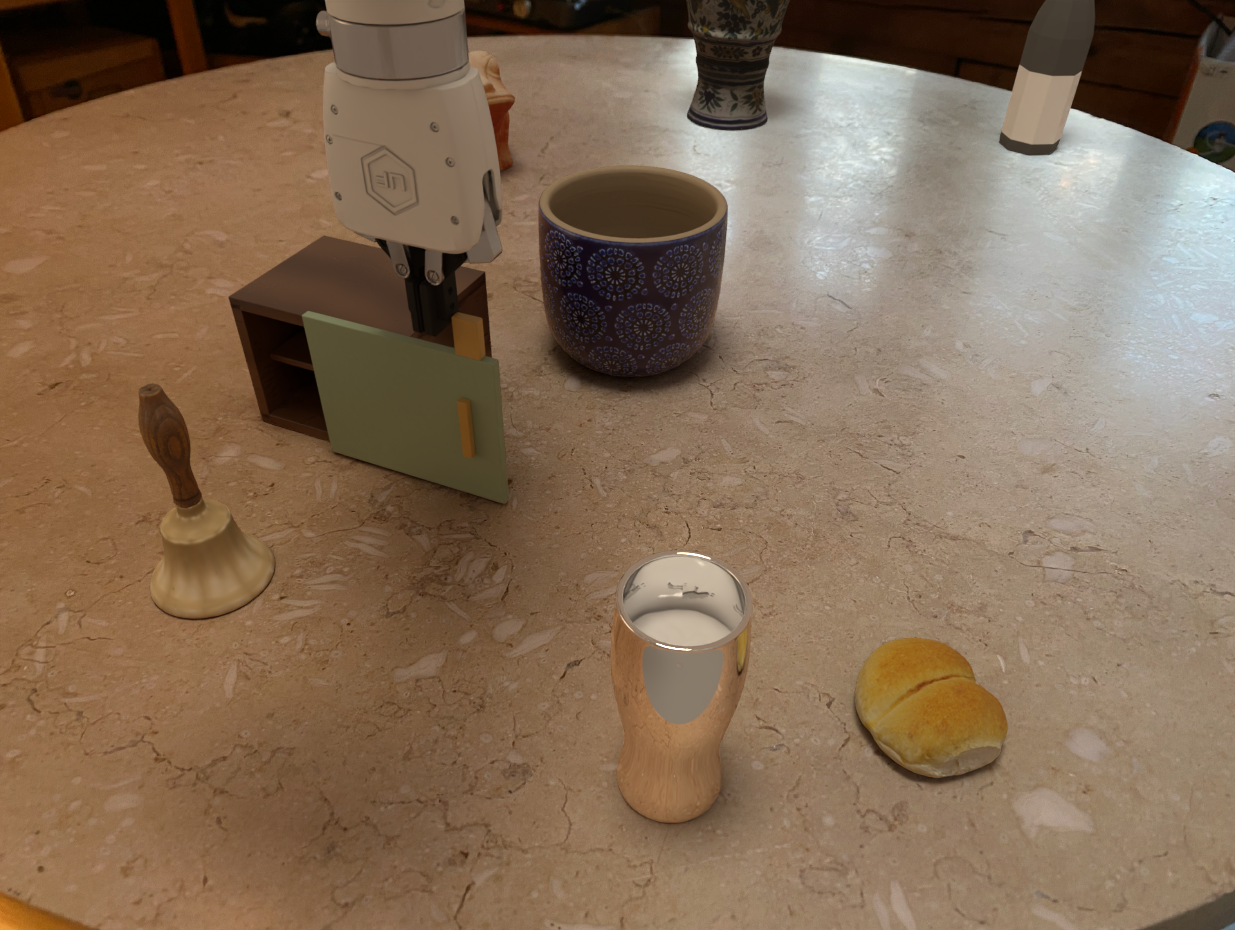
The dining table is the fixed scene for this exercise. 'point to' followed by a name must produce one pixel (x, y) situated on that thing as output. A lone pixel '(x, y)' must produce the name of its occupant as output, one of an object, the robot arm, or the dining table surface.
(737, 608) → the beer glass
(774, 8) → the vase
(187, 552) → the hand bell
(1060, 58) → the wine bottle
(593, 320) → the planter
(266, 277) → the cupboard
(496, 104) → the ceramic vessel
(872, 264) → the dining table surface
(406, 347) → the sliding door
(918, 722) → the bread roll
